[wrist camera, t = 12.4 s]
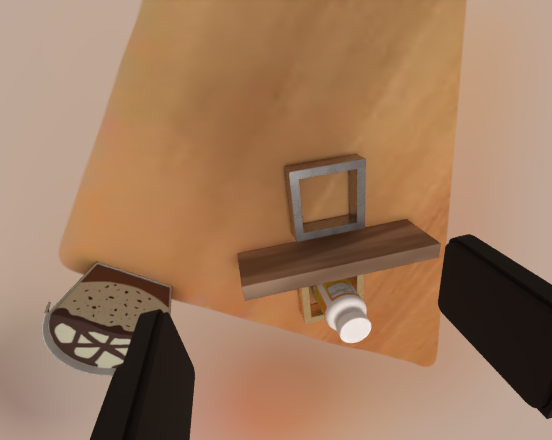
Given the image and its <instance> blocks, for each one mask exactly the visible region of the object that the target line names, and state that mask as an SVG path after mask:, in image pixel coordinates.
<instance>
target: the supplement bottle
mask: <svg viewBox="0 0 552 440" xmlns="http://www.w3.org/2000/svg"><path fill="white" fill-rule="evenodd" d="M311 288H312V291H313V294H314V296H315V298H316V300H317V302H318V304H319V306H320V308H321V311H322V313H323V315H324V317H325V319H326V321H327V323H328V325H329V326H330V327H331V328H333V329H334V330H337V332H338V334H339V336H340V338H341V339H342V340H343V341H344V342H347V343H355V342H359V341H361V340H362V339H364V338H365V337H366V336H367V335H368V334H369V333H370V330H371V323H370V321H369V319H368V318H367V316H366V305H365V303H364V302H363V300H362V298H361V297H360V296H359V294H358V293H357V291H356V290H355V288H354V287H353V285H352V284H351V282H350V281H349V280H348V278H345V279H341V280H336V281H332V282H327V283H323V284H318V285H314V286H311Z"/></svg>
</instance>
